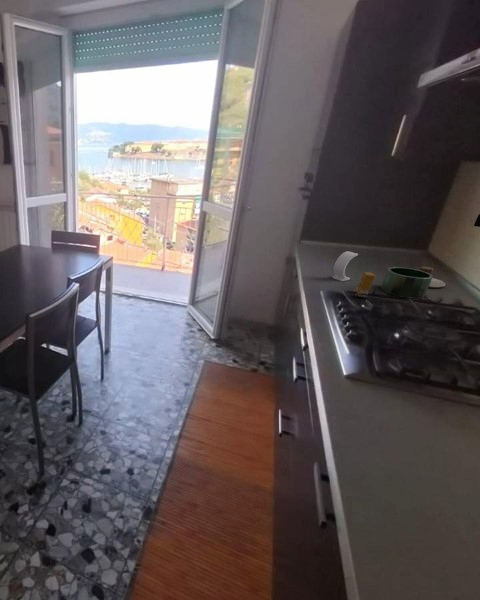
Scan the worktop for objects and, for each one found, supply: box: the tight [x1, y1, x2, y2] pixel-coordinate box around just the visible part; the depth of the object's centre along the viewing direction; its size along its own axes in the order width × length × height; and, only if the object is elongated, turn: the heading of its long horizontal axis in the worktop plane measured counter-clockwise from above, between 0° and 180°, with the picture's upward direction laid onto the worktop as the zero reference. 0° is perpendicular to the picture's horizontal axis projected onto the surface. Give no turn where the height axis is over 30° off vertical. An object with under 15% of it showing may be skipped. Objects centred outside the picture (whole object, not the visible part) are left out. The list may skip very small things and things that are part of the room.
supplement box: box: [355, 271, 376, 296], centre depth 139 cm, size 3×4×10 cm
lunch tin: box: [380, 266, 434, 300], centre depth 144 cm, size 14×14×8 cm
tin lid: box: [419, 266, 447, 289], centre depth 154 cm, size 15×15×7 cm
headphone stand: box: [331, 250, 359, 282], centre depth 157 cm, size 5×6×12 cm
